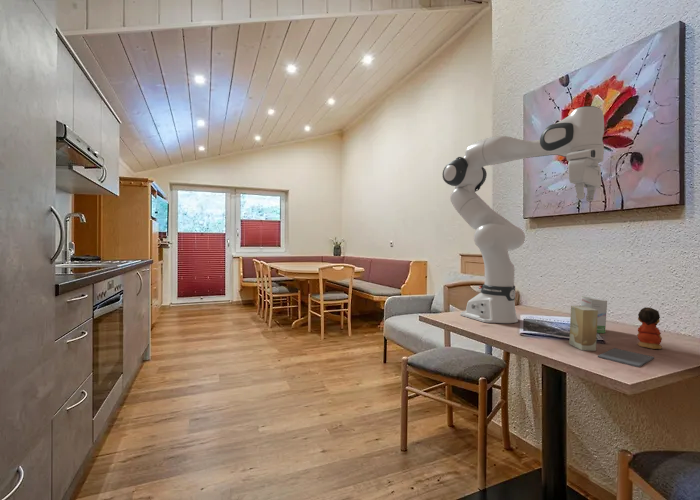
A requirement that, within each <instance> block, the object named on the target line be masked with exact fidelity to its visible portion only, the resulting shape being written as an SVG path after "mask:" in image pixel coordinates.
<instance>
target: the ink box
mask: <svg viewBox="0 0 700 500" xmlns="http://www.w3.org/2000/svg"><path fill="white" fill-rule="evenodd" d="M580 306H586V307H589V308H592V309H595V310H598V318H597V334H606V326H607V325H606V323H607V310H608V300H605V299H603V298H600V297H599V296H587V295H582V296H581V297H580Z"/></svg>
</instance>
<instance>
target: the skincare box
mask: <svg viewBox="0 0 700 500" xmlns="http://www.w3.org/2000/svg"><path fill="white" fill-rule="evenodd" d="M597 318H598V310H595V309H592V308H589V307H586V306H581V305H570V321H569V341H568V343H569V344H568V345H571V346H573V347H574V348H576V349H579V350H580V351H595V352H596V351H597V338H598V336H597V335H598V333H597Z"/></svg>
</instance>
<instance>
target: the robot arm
mask: <svg viewBox="0 0 700 500" xmlns="http://www.w3.org/2000/svg"><path fill="white" fill-rule="evenodd" d="M604 134H605V117H604V112H603V110H602V109H601V108H600V107H597V106H593V105H585V106H583V105H582V106H580V107H577V108H575V109H573V111H572V112H571V113H570V114H569V115H568V116H566V117H564V118H563V119H561V120H560V121H557V122H556V123H552V124H550V125H548V126H546V128H545V129H543V131H542V133H541V134H540V137H539V139H535V140H524V139H519V138H516V137H512V136H506V135H498V136H496V135H495V136H492V137H491V136H490V137H485V138H484V139H480V140H478V141H474V142H473V143H471V144H469V145H468V146H466V147H467V148H466V149H465V151H464V153H465V155H464V156H463V157H462V156H458V157H456V158H455V159H454V160H452V161H450V162H448V163H447V164H446V165H445V166H444V168H443V170H442V173H441V174H442V179H443V181H444V182H445V183H446V184H447V185H449V186H452V187H454V190H453V191H452V193H451V194H450V199H449V200H450V202H451V204H452V205H453V207H454V209H455V210H456V212H457V213H458V215H460V216H461V217H462V218H463V220H464V221H465V222H466V223H467V224H468V226H469V227H470V228H472V229H473V230H475V232H474V233H473V241H474V244H475V245H476V247H477V248H478V249H479V252H480V254H481V257H482V260H483V265H484V283H483V284H482V285H478V289H479V290H480V292H479V293H478V294H476V295H475V296H474V297H472V298H471V299H469V300H468V301H467V304H466V309H465V310H463V311H461V312H460V316H463V317H466V318H469V319H472V320H476V321H480V322H483V323H488V324H489V323H493V324H494V323H495V324H496V323H497V324H513V323H518V322H519V320H518V316H517V311H516V305H515V303H516V302H515V300H516V286H515V265H514V264H513V263H512V261H511V259H510V255H509V251H514V250H517V249H519V248H521V247H522V246H523V244H524V243H525V240H526V236H525V233H524V231H523V229H522V228H520V227H519V226H517V225H515V224H514V223H512V222H511V221H509V220H508V219H506V217H504V216H502V215H501V214H499V213H498V212H496V211H495V210H494V209H493V208H492V207H490V205H488V204H487V203H486V202H485V200H483V199H482V197H480V196H479V195H478V194H477V192H478V191H479V190H480V189H481V187H482V186H483V185H484V184H485V182H486V179H487V169H486V168H484V167H486V166H487V167H488V166H495V165H499V164H505V163H510V162H513V161H518V160H522V159H529V158H530V159H531V158H538V157H539V158H540V157H547V156H561V157H563V158H566V161H567V162H568V165H567V170H568V180H569V183H570V184H573V185H575V187H574V188H575V192H576V198H577V199H578V200H582V199H583V200H584V199H585V200H586V201H587V202H594V200H595V194H596V189H599V188H601V186H602V170H601V166H600V165H599V163H602V162H603V161H604V150H605V149H604V148H605V147H604V145H605V144H604V142H603V141H604V140H603V136H604ZM585 189H586V191H587V194H586V193H585ZM585 195H586V196H585Z"/></svg>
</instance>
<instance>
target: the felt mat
mask: <svg viewBox="0 0 700 500" xmlns="http://www.w3.org/2000/svg"><path fill="white" fill-rule="evenodd" d="M597 358H600V359H604V360H607V361H612V362H616V363H620V364H623V365H624V364H625V365H628V366H632V367H636V368H640V367H642V366H643V365H646V364H647V363H648V362H650V361H652V360H654V359H655V356H653V355H647V354H642V353H639V352H638V353H637V352H633V351H628V350H624V349H620V348H616V347H614V348H612V349H609V350H607V351H604V352H603V353H601V354H599V355H597Z"/></svg>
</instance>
